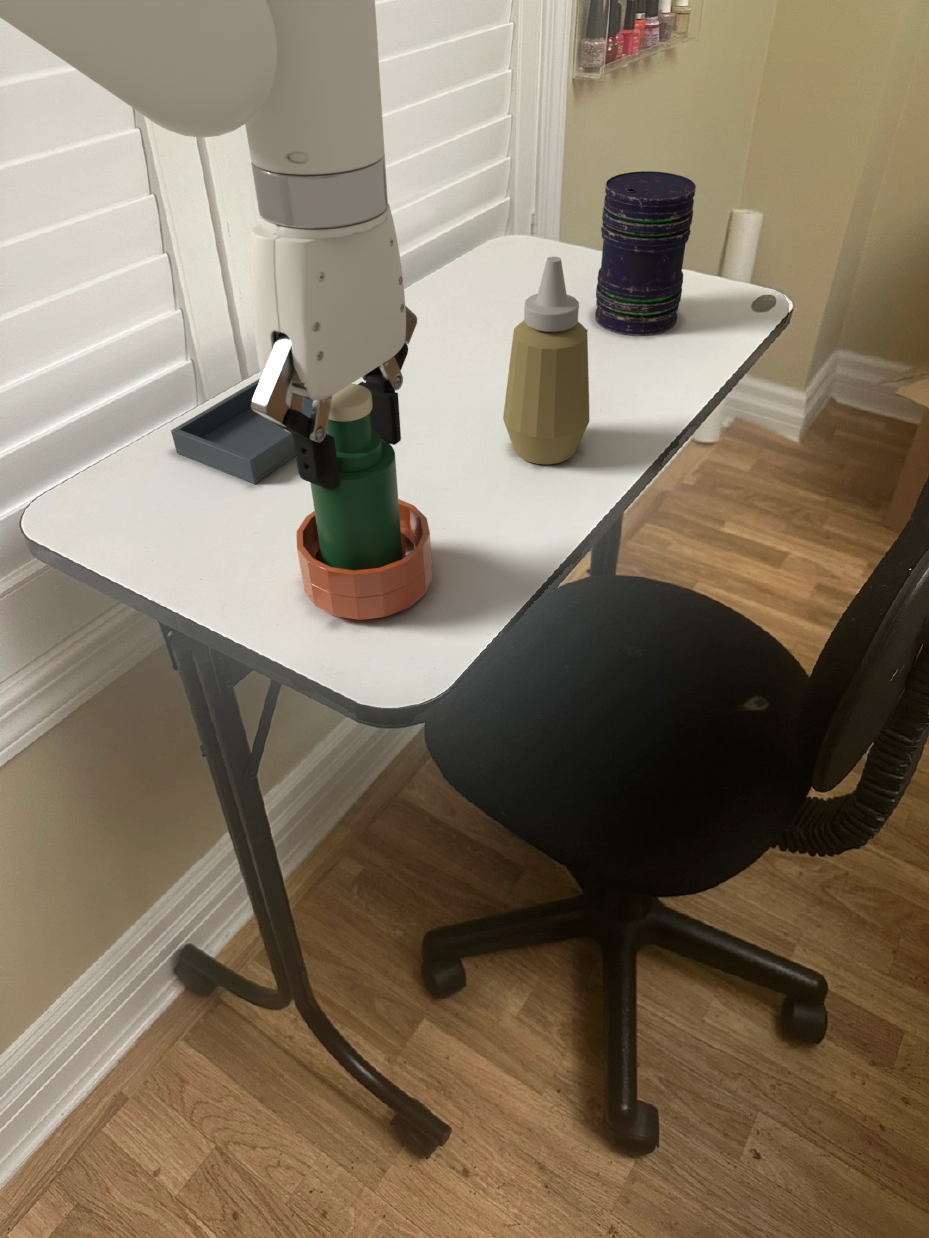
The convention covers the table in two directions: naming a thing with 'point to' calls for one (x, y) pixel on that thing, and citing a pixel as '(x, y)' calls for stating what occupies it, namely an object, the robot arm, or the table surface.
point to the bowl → (368, 572)
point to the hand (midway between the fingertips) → (351, 458)
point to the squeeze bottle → (548, 374)
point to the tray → (237, 437)
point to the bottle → (358, 490)
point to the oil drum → (643, 251)
